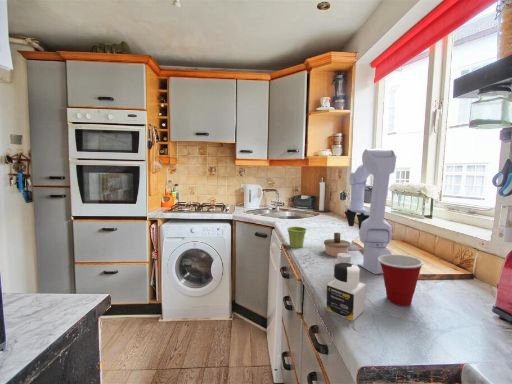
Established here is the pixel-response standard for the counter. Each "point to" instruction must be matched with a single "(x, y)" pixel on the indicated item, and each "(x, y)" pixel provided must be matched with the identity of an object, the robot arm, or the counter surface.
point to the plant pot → (296, 236)
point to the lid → (337, 242)
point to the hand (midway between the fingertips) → (356, 228)
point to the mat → (353, 248)
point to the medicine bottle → (346, 292)
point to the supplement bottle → (343, 258)
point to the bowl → (335, 250)
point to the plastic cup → (400, 277)
